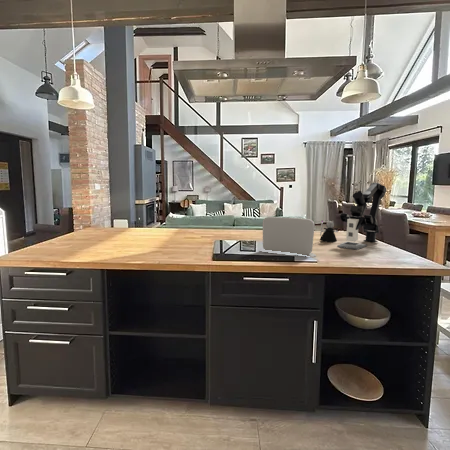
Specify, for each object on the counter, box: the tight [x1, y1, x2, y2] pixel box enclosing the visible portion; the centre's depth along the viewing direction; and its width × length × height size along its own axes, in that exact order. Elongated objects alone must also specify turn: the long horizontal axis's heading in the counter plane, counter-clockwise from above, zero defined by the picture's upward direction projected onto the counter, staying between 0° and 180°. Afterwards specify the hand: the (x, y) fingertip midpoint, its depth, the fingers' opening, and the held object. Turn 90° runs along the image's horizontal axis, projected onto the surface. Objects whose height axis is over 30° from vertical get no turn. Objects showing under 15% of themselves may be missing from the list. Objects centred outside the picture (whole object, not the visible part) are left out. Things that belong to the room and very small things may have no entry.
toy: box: [319, 220, 339, 243], centre depth 216 cm, size 12×7×15 cm, turn 84°
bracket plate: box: [337, 241, 368, 251], centre depth 201 cm, size 17×12×2 cm
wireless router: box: [262, 216, 317, 258], centre depth 178 cm, size 31×10×20 cm, turn 65°
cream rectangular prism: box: [345, 219, 359, 242], centre depth 196 cm, size 5×5×13 cm
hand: (351, 229), depth 195 cm, fingers closed on cream rectangular prism, 5 cm apart
